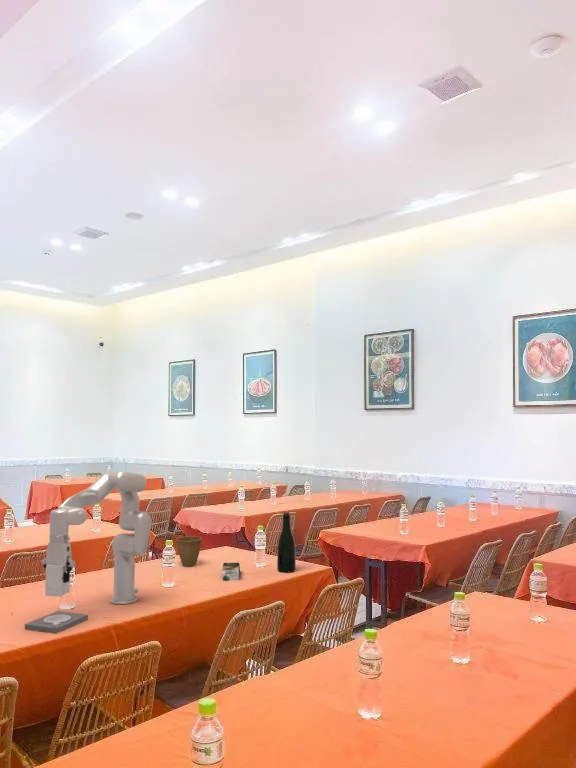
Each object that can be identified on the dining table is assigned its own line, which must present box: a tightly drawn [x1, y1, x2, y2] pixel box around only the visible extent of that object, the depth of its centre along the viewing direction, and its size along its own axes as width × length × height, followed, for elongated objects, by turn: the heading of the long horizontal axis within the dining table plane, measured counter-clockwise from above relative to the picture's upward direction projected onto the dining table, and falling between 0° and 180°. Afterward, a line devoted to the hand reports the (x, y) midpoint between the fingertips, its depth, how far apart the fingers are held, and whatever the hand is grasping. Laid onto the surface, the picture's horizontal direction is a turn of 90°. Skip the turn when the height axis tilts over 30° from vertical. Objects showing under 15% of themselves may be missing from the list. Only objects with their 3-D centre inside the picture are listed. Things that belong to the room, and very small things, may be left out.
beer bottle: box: [276, 512, 297, 573], centre depth 374 cm, size 10×10×33 cm
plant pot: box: [176, 535, 202, 568], centre depth 386 cm, size 15×15×16 cm
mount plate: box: [24, 610, 89, 634], centre depth 273 cm, size 20×16×3 cm
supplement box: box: [44, 563, 71, 598], centre depth 274 cm, size 7×7×13 cm
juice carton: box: [221, 562, 241, 581], centre depth 359 cm, size 20×10×6 cm, turn 4°
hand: (57, 581), depth 274 cm, fingers closed on supplement box, 8 cm apart
